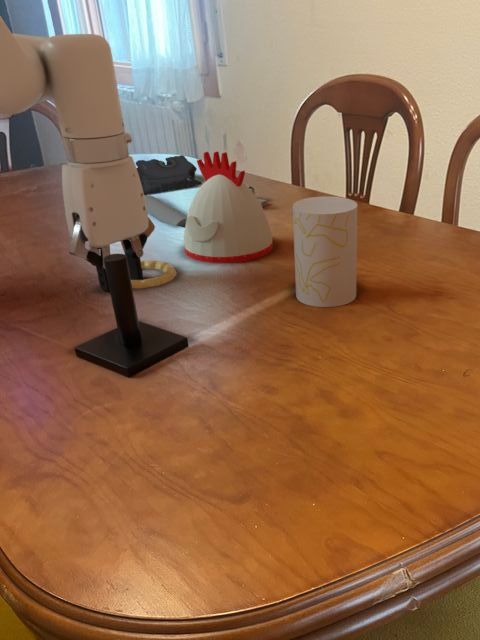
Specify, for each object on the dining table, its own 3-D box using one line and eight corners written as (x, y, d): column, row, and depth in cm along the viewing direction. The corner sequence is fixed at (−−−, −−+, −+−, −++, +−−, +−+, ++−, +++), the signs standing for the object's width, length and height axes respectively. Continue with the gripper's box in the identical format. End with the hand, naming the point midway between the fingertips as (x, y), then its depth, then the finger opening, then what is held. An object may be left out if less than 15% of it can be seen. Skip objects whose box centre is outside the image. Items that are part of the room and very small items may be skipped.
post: (76, 356, 75) (52, 261, 69) (136, 328, 81) (120, 238, 75) (129, 378, 71) (108, 278, 65) (188, 346, 77) (175, 252, 71)
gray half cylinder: (158, 202, 130) (157, 193, 129) (197, 226, 116) (196, 216, 115) (137, 206, 128) (136, 196, 127) (175, 231, 114) (173, 220, 113)
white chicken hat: (221, 234, 112) (211, 140, 104) (289, 246, 106) (285, 147, 98) (167, 259, 102) (151, 157, 94) (239, 273, 96) (229, 166, 88)
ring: (97, 284, 94) (95, 273, 93) (146, 265, 100) (145, 255, 99) (141, 298, 89) (139, 287, 88) (190, 277, 95) (188, 267, 95)
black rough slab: (85, 186, 143) (81, 162, 140) (181, 172, 152) (178, 150, 150) (106, 201, 132) (101, 176, 129) (207, 185, 141) (205, 162, 139)
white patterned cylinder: (286, 302, 87) (282, 210, 80) (309, 281, 93) (307, 194, 87) (344, 310, 85) (344, 216, 78) (364, 288, 91) (366, 199, 84)
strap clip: (255, 202, 129) (254, 180, 127) (268, 204, 128) (266, 181, 125) (229, 213, 123) (226, 190, 121) (242, 215, 122) (240, 191, 119)
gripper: (128, 136, 89) (150, 266, 99) (19, 158, 78) (56, 302, 88) (166, 141, 86) (185, 276, 96) (58, 165, 74) (92, 315, 85)
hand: (123, 287), depth 92 cm, fingers open, 3 cm apart
